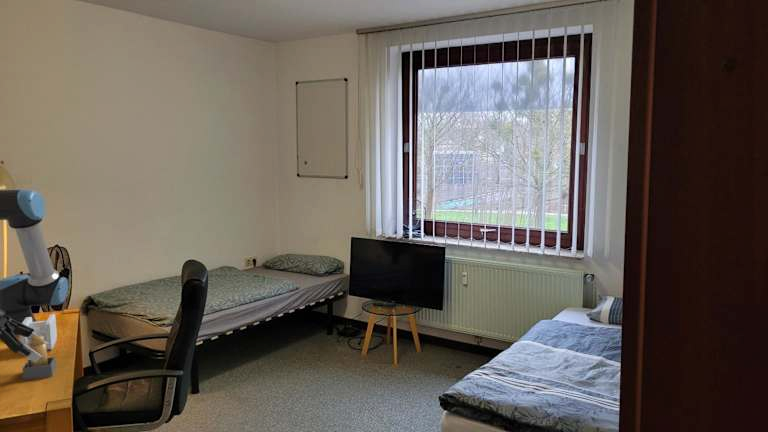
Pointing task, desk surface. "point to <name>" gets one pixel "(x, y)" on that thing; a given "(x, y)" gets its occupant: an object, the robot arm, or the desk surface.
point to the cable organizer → (42, 330)
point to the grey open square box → (39, 370)
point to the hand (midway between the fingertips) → (42, 352)
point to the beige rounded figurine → (39, 350)
